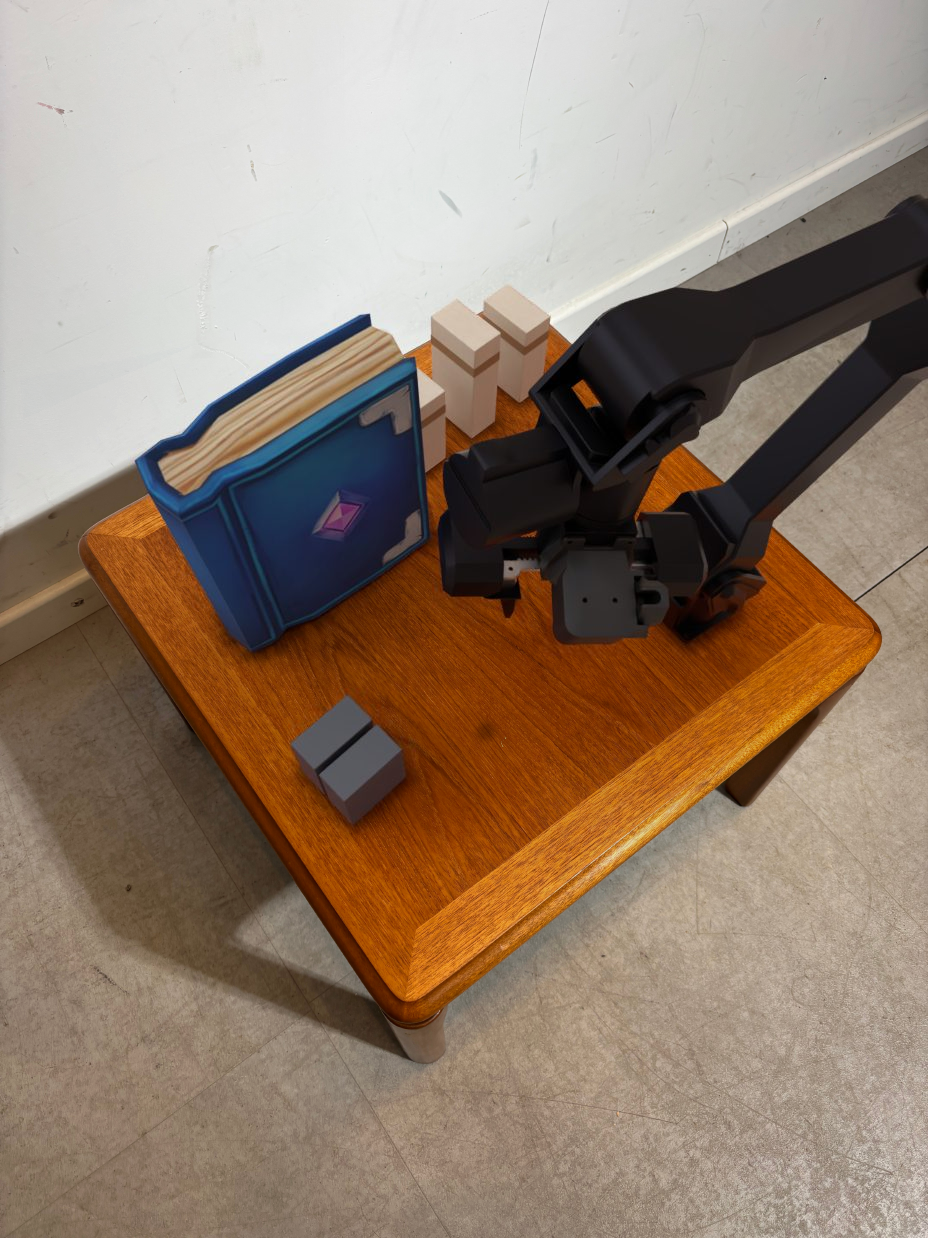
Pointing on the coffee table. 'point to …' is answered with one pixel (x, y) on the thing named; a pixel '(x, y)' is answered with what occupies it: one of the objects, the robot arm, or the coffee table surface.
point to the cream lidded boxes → (517, 363)
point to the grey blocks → (350, 759)
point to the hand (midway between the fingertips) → (546, 613)
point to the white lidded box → (465, 366)
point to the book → (298, 482)
